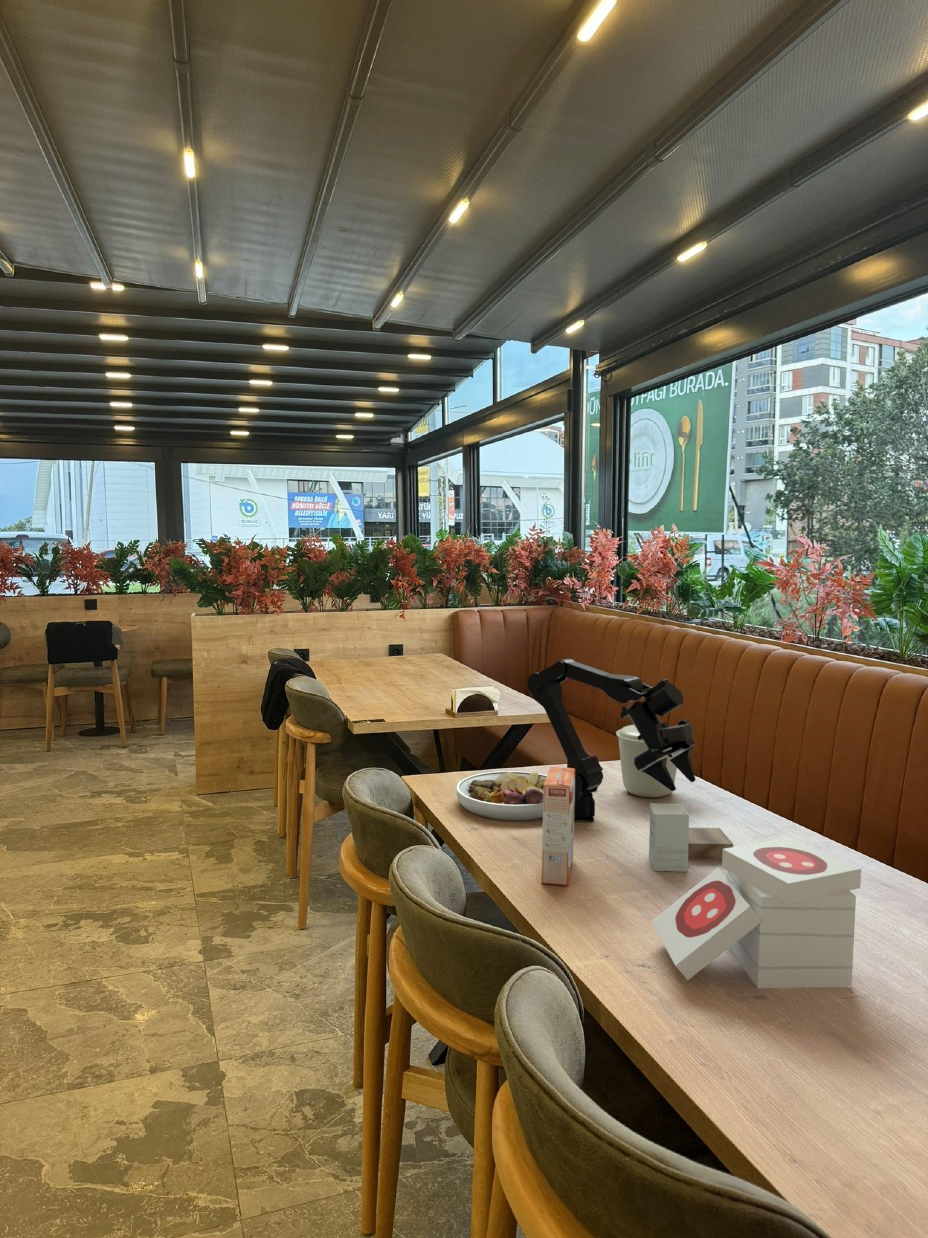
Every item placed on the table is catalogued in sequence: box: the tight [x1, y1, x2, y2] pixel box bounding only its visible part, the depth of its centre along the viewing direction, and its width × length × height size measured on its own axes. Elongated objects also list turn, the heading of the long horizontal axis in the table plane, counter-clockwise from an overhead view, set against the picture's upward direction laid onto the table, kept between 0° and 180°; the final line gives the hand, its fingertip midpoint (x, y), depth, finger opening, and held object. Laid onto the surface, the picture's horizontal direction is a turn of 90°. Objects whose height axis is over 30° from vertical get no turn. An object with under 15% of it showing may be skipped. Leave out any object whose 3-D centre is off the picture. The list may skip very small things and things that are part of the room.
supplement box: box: [648, 802, 690, 873], centre depth 174 cm, size 7×7×13 cm
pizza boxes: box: [651, 836, 862, 989], centre depth 133 cm, size 19×30×18 cm, turn 91°
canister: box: [615, 724, 678, 798], centre depth 224 cm, size 18×18×21 cm
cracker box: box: [540, 766, 575, 887], centre depth 169 cm, size 14×6×21 cm, turn 168°
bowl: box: [455, 770, 547, 821], centre depth 214 cm, size 30×30×8 cm
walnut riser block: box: [688, 827, 734, 861], centre depth 182 cm, size 10×10×4 cm
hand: (684, 786), depth 184 cm, fingers open, 9 cm apart
